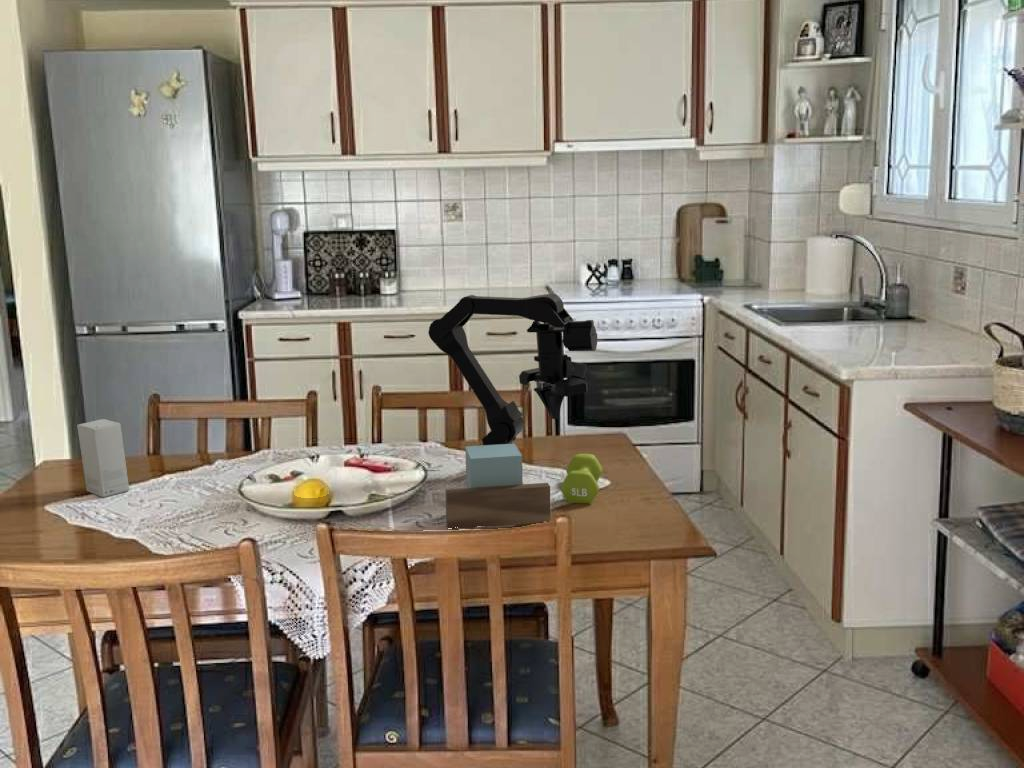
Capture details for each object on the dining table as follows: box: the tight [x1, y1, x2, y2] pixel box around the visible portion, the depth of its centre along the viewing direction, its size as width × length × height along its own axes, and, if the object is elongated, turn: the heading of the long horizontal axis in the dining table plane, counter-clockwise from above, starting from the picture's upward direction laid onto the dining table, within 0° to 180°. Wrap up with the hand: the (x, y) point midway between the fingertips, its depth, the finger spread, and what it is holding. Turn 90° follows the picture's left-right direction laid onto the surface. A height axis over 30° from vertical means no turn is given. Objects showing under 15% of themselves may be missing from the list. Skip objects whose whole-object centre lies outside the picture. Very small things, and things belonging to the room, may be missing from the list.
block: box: [464, 443, 524, 488], centre depth 196 cm, size 9×10×13 cm
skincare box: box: [76, 418, 130, 498], centre depth 218 cm, size 8×7×16 cm
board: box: [445, 482, 552, 530], centre depth 191 cm, size 2×20×8 cm, turn 99°
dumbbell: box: [560, 453, 603, 505], centre depth 210 cm, size 16×8×7 cm, turn 171°
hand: (554, 418), depth 224 cm, fingers closed
